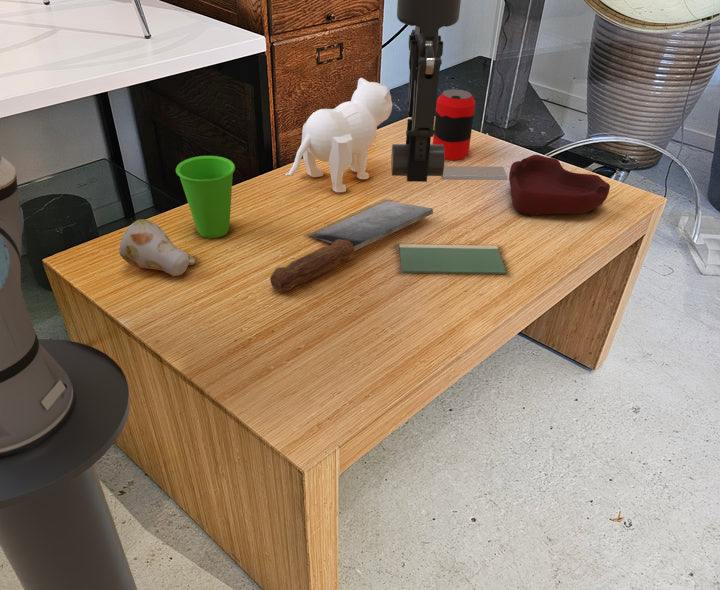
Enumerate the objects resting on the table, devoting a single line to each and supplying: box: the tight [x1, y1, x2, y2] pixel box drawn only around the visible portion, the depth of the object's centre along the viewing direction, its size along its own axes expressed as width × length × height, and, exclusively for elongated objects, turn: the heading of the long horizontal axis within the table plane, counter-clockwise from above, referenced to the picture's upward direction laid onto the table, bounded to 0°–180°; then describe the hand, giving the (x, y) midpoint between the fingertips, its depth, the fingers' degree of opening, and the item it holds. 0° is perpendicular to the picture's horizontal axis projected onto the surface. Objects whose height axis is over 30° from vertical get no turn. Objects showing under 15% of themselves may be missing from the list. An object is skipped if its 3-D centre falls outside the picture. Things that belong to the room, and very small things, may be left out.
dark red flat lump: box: [508, 154, 611, 217], centre depth 119 cm, size 18×16×5 cm
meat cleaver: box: [269, 200, 434, 292], centre depth 106 cm, size 34×11×4 cm, turn 136°
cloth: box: [398, 243, 507, 275], centre depth 104 cm, size 16×8×1 cm, turn 91°
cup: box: [175, 155, 236, 239], centre depth 105 cm, size 9×9×11 cm
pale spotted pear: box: [118, 218, 196, 277], centre depth 98 cm, size 8×10×10 cm
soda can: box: [431, 88, 476, 161], centre depth 133 cm, size 8×8×12 cm
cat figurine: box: [284, 77, 400, 193], centre depth 120 cm, size 25×10×17 cm, turn 131°
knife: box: [390, 143, 508, 181], centre depth 91 cm, size 16×4×4 cm, turn 91°
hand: (415, 172), depth 92 cm, fingers closed on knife, 4 cm apart
